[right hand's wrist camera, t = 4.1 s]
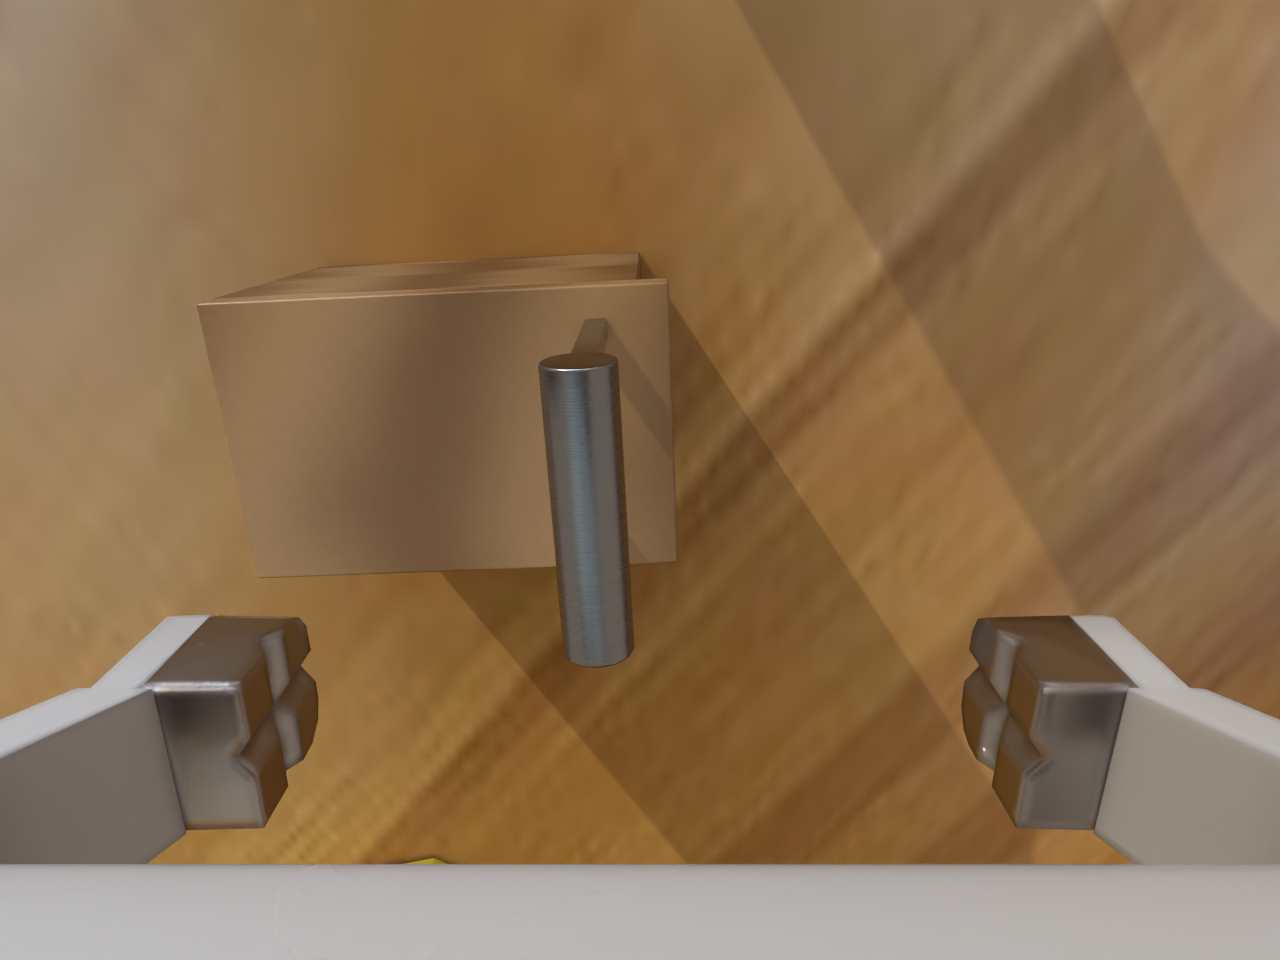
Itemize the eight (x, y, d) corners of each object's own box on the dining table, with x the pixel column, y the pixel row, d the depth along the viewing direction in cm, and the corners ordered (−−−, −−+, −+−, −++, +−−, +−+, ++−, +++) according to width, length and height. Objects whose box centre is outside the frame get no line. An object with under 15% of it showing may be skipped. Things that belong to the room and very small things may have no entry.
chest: (639, 251, 36) (636, 279, 27) (649, 463, 39) (649, 551, 30) (320, 266, 36) (212, 298, 27) (356, 475, 40) (270, 565, 31)
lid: (667, 277, 27) (676, 325, 19) (676, 550, 30) (687, 694, 22) (211, 299, 27) (20, 354, 19) (270, 566, 31) (129, 713, 22)
